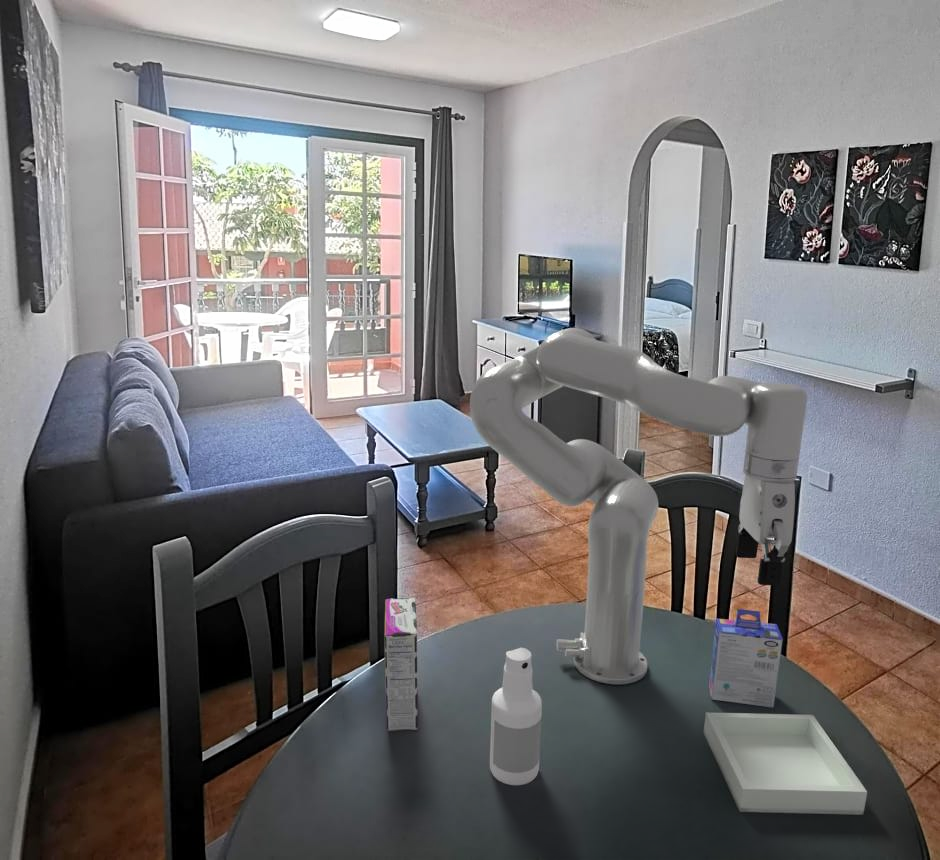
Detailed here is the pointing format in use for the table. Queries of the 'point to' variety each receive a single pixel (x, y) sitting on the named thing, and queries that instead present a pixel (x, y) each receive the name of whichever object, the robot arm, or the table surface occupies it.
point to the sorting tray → (782, 764)
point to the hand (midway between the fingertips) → (756, 570)
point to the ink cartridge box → (745, 660)
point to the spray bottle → (516, 722)
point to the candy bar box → (401, 664)
